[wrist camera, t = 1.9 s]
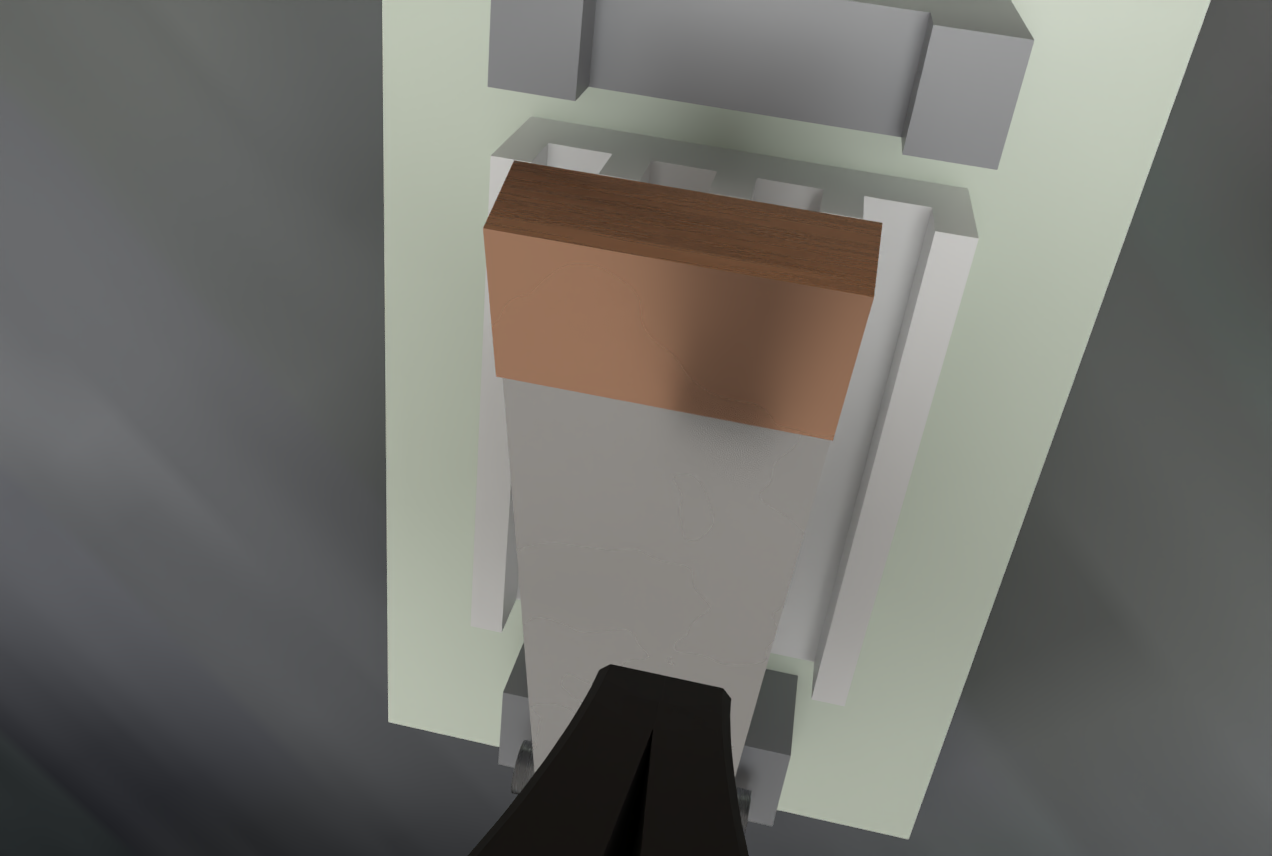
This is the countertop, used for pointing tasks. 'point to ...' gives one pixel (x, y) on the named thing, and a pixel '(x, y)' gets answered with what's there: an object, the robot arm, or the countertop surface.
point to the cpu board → (888, 355)
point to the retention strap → (663, 423)
